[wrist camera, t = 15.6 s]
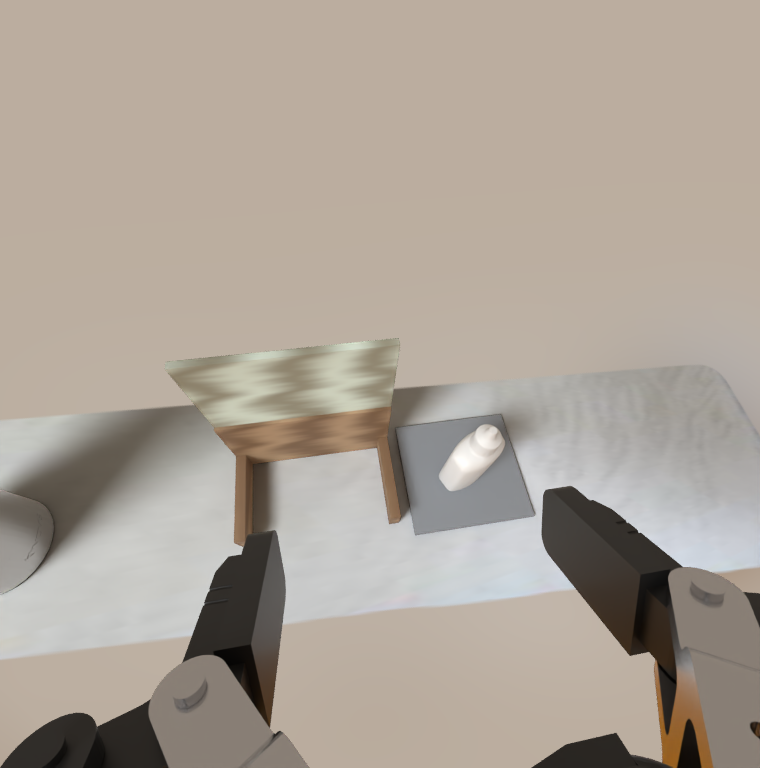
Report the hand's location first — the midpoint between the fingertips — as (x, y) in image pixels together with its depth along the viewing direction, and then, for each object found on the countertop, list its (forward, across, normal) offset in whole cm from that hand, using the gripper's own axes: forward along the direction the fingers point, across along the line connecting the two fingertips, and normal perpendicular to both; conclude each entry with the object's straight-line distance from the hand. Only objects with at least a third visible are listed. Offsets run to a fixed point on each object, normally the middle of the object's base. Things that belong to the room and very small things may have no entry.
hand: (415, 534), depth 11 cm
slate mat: (+28, -11, +15) cm, 34 cm away
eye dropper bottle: (+28, -11, +15) cm, 34 cm away
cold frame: (+28, +5, +15) cm, 33 cm away
